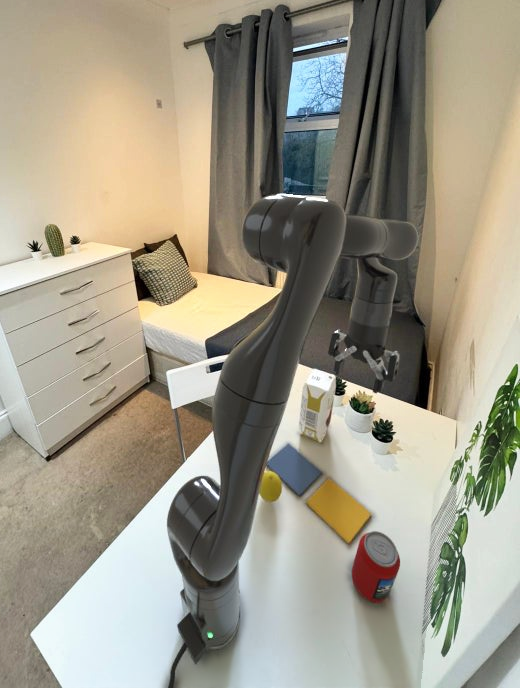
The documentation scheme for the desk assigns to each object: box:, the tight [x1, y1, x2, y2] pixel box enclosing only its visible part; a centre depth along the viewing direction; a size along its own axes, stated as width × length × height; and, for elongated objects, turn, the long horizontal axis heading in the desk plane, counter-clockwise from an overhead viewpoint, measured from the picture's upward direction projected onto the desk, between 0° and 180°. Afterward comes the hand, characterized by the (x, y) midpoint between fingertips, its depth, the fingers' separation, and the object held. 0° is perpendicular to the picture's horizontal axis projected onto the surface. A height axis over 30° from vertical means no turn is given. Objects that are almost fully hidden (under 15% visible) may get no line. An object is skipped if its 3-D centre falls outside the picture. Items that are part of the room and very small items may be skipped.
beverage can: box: [351, 530, 401, 604], centre depth 60 cm, size 7×7×12 cm
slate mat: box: [266, 443, 323, 497], centre depth 84 cm, size 9×11×1 cm
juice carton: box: [298, 368, 337, 443], centre depth 91 cm, size 8×9×19 cm
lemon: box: [259, 470, 283, 503], centre depth 76 cm, size 6×6×8 cm
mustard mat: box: [305, 477, 372, 545], centre depth 75 cm, size 9×11×1 cm
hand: (356, 382), depth 73 cm, fingers open, 8 cm apart
